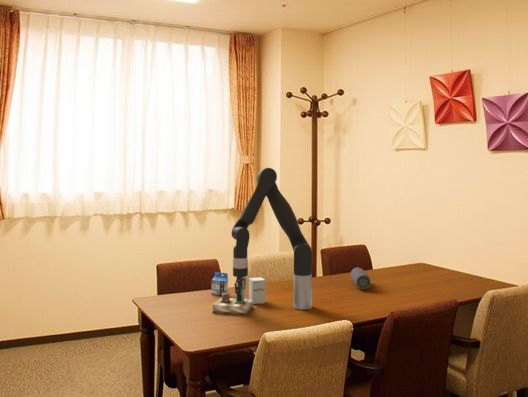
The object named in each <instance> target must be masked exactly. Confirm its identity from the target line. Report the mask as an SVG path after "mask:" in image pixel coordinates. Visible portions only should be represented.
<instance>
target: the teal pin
mask: <svg viewBox="0 0 528 397" xmlns="http://www.w3.org/2000/svg"><path fill="white" fill-rule="evenodd" d="M240 288H241V287H240ZM238 291H239V290H238ZM235 299H236V304H244V299H245V291H244V285H243V289H242V301H241V302H238V301H237V294H236V293H235Z"/></svg>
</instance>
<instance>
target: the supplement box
mask: <svg viewBox="0 0 528 397" xmlns="http://www.w3.org/2000/svg"><path fill="white" fill-rule="evenodd" d="M248 299H252V300H253V305H257V304H266V279H264V278H263V277H249V278H248Z"/></svg>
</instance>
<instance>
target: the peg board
mask: <svg viewBox="0 0 528 397" xmlns="http://www.w3.org/2000/svg"><path fill="white" fill-rule="evenodd" d="M230 295H231V294H230V292H228V293H222V296H221V297H220V298H219V299H218V300H216V302H214V303H213V304H212V313H213V314H224V315H241V316H247V315H248V314H249V312H250V311H251V310H252V309H253V308H254V306H253V305H254V304H253V300H252V299H249V298H244V304H236V298H233V297H232V298H231V296H230Z"/></svg>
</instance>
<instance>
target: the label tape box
mask: <svg viewBox="0 0 528 397" xmlns="http://www.w3.org/2000/svg"><path fill="white" fill-rule="evenodd" d="M228 289H229V276H228V273H227V272H218V271H215V272H214V276H213V278H212V279H211V290H210V291H211V295H214V296H221V297H222V293H229V292H228V291H229V290H228Z"/></svg>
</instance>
